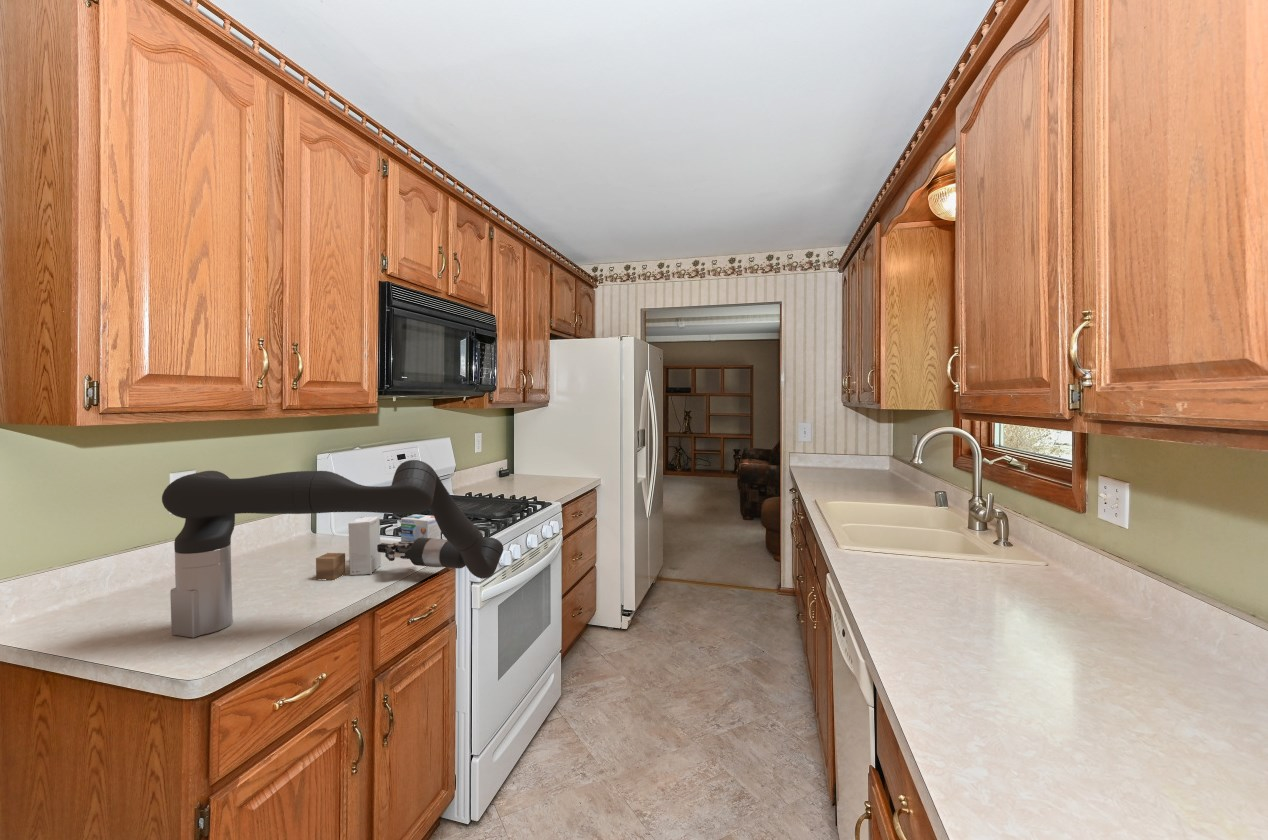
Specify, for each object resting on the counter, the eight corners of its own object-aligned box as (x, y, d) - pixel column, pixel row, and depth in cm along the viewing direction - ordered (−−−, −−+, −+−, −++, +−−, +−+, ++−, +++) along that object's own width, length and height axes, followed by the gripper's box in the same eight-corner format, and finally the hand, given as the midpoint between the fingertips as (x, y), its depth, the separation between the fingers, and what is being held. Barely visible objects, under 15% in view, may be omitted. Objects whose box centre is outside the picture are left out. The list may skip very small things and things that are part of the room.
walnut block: (333, 580, 141) (333, 558, 140) (316, 580, 141) (315, 558, 141) (345, 574, 146) (345, 553, 145) (328, 573, 146) (328, 552, 146)
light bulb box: (400, 551, 168) (399, 518, 168) (414, 545, 174) (414, 513, 174) (428, 554, 165) (427, 520, 164) (441, 548, 171) (441, 516, 171)
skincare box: (371, 575, 145) (370, 522, 144) (348, 575, 144) (347, 522, 144) (381, 565, 153) (381, 515, 153) (359, 566, 153) (359, 515, 152)
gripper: (446, 533, 149) (395, 528, 154) (416, 545, 136) (361, 540, 141) (447, 558, 150) (395, 554, 154) (416, 573, 137) (361, 567, 141)
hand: (379, 547), depth 147 cm, fingers closed
